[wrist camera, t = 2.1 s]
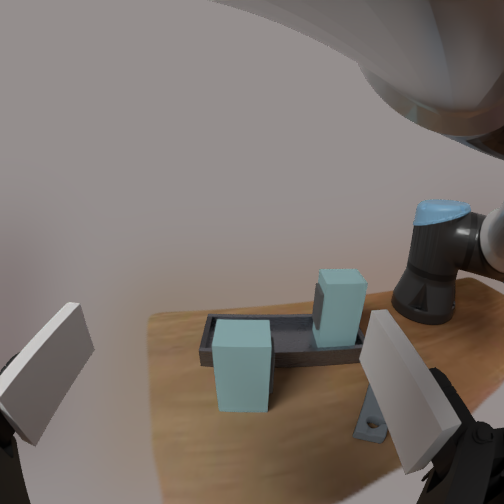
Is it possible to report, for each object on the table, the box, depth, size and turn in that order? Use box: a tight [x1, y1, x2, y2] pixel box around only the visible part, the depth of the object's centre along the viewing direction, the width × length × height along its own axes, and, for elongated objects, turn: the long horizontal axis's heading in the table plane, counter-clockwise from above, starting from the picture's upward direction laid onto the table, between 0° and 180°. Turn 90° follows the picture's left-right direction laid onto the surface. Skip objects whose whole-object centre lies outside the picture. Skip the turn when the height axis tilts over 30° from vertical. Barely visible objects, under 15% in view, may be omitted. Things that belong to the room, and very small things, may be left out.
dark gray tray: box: [199, 314, 365, 368], centre depth 43 cm, size 25×10×3 cm, turn 90°
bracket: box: [353, 383, 388, 443], centre depth 30 cm, size 4×10×2 cm, turn 151°
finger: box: [212, 319, 275, 412], centre depth 32 cm, size 6×5×11 cm
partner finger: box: [312, 269, 368, 348], centre depth 42 cm, size 6×5×11 cm
